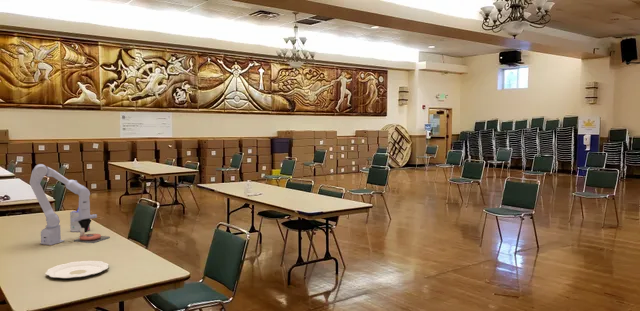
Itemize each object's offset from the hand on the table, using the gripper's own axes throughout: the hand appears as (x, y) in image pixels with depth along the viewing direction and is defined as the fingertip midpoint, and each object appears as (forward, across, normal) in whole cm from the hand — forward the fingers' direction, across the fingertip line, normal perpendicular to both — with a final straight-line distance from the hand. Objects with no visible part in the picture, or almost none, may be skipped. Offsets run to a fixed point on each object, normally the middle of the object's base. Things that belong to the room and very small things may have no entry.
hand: (85, 232), depth 275 cm
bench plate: (+4, -1, +5) cm, 6 cm away
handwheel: (+3, 0, +4) cm, 5 cm away
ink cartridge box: (+4, -12, -22) cm, 25 cm away
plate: (+4, +41, +53) cm, 67 cm away
